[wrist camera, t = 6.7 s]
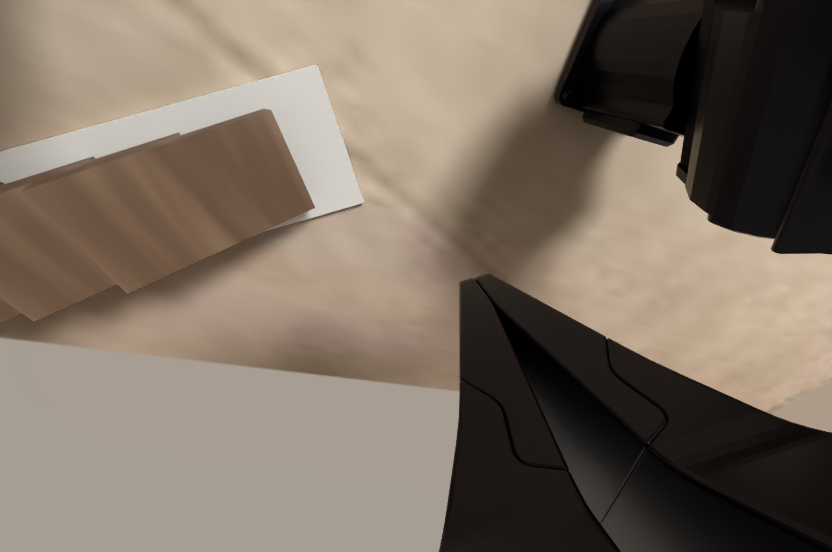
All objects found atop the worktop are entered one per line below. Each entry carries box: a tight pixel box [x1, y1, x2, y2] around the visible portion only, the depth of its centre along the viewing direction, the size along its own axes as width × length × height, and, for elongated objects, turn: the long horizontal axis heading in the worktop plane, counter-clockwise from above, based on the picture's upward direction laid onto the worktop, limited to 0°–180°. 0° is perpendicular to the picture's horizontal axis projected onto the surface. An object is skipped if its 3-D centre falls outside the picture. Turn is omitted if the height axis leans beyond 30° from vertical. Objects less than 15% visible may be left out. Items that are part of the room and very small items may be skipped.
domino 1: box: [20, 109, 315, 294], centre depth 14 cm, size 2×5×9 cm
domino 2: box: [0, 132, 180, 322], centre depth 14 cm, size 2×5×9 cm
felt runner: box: [0, 64, 364, 233], centre depth 16 cm, size 20×7×1 cm, turn 102°
